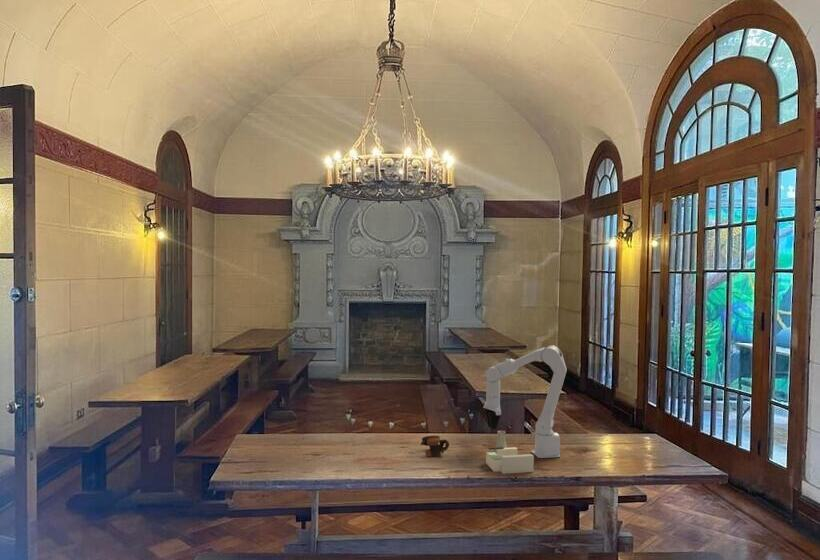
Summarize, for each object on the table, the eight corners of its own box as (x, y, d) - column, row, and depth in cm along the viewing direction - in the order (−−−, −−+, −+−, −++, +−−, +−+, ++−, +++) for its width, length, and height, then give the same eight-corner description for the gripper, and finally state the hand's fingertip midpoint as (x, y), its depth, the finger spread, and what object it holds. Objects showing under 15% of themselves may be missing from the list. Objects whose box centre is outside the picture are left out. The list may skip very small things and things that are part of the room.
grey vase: (509, 460, 228) (510, 435, 228) (491, 458, 230) (491, 433, 229) (510, 454, 235) (510, 429, 235) (492, 452, 237) (492, 428, 236)
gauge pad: (515, 459, 228) (516, 445, 227) (517, 461, 226) (517, 447, 226) (487, 461, 225) (488, 447, 225) (489, 462, 224) (489, 448, 223)
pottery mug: (418, 457, 231) (416, 436, 234) (426, 461, 239) (424, 441, 242) (448, 453, 228) (445, 432, 231) (454, 456, 236) (451, 436, 239)
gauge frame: (521, 461, 227) (521, 445, 227) (533, 471, 216) (533, 455, 216) (485, 463, 224) (486, 447, 224) (496, 474, 213) (496, 458, 213)
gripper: (478, 391, 248) (477, 423, 249) (489, 400, 234) (489, 433, 234) (494, 391, 249) (493, 422, 250) (506, 399, 235) (505, 432, 236)
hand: (492, 427), depth 242 cm, fingers open, 3 cm apart
